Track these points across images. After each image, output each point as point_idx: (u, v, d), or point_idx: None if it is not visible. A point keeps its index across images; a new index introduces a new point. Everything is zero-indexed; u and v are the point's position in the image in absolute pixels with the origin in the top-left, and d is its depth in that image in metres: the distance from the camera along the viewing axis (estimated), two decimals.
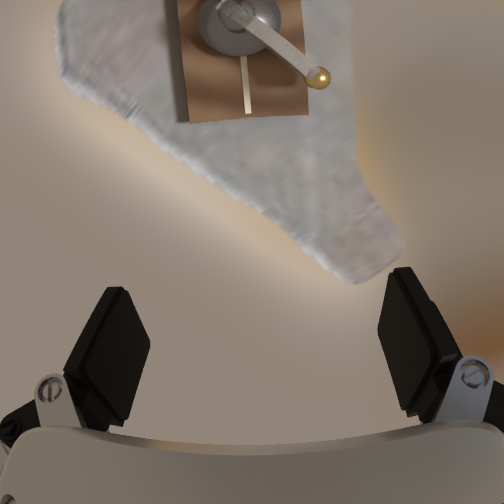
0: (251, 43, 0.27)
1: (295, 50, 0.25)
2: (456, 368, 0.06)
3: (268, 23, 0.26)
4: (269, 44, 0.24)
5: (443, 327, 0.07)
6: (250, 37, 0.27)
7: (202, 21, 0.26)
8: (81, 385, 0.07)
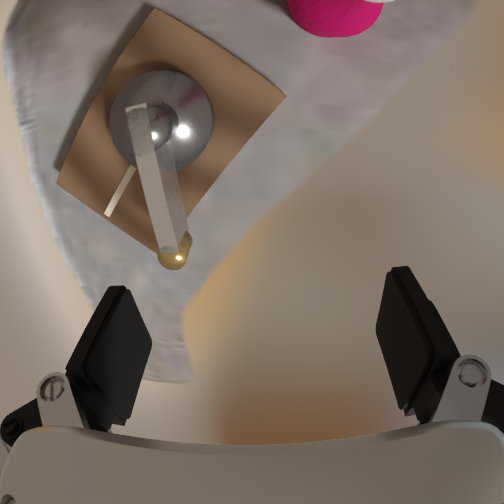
0: None
1: (167, 218, 0.23)
2: (453, 367, 0.06)
3: (182, 150, 0.24)
4: (145, 194, 0.22)
5: (440, 326, 0.07)
6: None
7: (123, 95, 0.21)
8: (83, 384, 0.07)
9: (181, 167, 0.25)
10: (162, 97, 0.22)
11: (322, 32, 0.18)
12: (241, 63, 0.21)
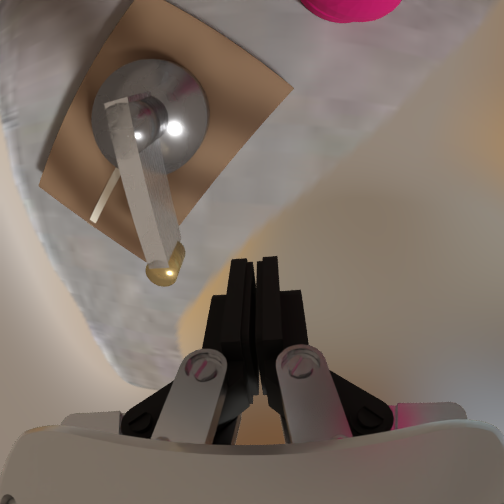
0: None
1: (155, 230, 0.20)
2: (280, 354, 0.07)
3: (172, 151, 0.21)
4: (129, 202, 0.19)
5: (279, 313, 0.08)
6: None
7: (105, 88, 0.18)
8: (234, 358, 0.08)
9: (172, 170, 0.22)
10: (149, 90, 0.18)
11: (336, 15, 0.14)
12: (241, 50, 0.18)
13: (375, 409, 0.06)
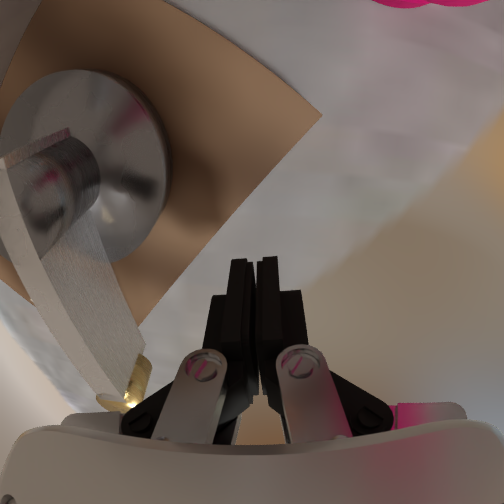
0: None
1: (95, 364, 0.11)
2: (280, 354, 0.07)
3: (113, 229, 0.12)
4: (49, 326, 0.10)
5: (278, 313, 0.08)
6: None
7: (10, 125, 0.09)
8: (234, 358, 0.08)
9: (117, 257, 0.13)
10: (67, 125, 0.10)
11: None
12: (227, 43, 0.10)
13: (375, 409, 0.06)
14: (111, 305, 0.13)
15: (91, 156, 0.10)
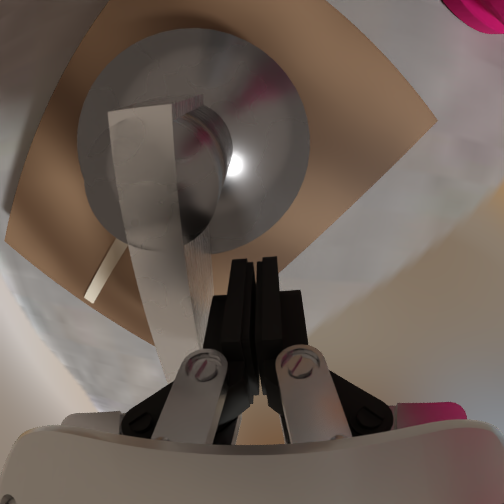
0: None
1: None
2: (280, 354, 0.07)
3: (229, 217, 0.12)
4: (152, 325, 0.10)
5: (278, 313, 0.08)
6: None
7: (111, 75, 0.09)
8: (234, 358, 0.08)
9: (223, 249, 0.13)
10: (202, 92, 0.09)
11: None
12: (366, 40, 0.09)
13: (375, 409, 0.06)
14: (209, 301, 0.13)
15: (229, 133, 0.10)
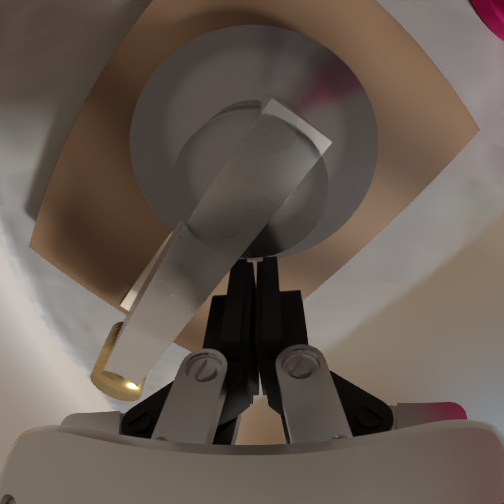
0: None
1: (153, 355, 0.10)
2: (280, 354, 0.07)
3: None
4: (143, 304, 0.09)
5: (278, 313, 0.08)
6: None
7: (241, 37, 0.08)
8: (234, 358, 0.08)
9: None
10: (307, 116, 0.10)
11: None
12: (422, 52, 0.09)
13: (375, 409, 0.06)
14: None
15: None
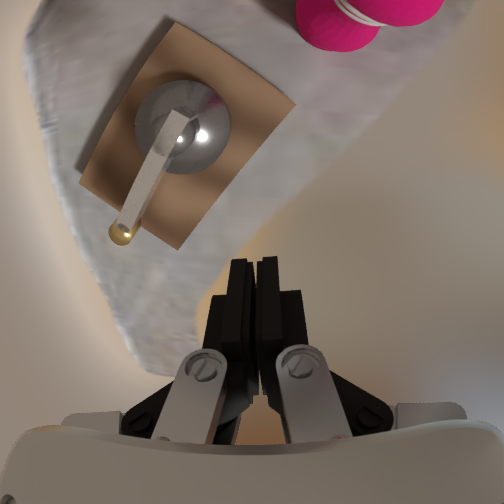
0: None
1: (138, 207, 0.26)
2: (280, 354, 0.07)
3: (181, 161, 0.27)
4: (136, 179, 0.24)
5: (279, 313, 0.08)
6: None
7: (173, 86, 0.24)
8: (234, 358, 0.08)
9: (171, 171, 0.28)
10: (199, 113, 0.25)
11: (328, 48, 0.21)
12: (255, 75, 0.24)
13: (375, 409, 0.06)
14: (154, 188, 0.27)
15: (199, 132, 0.26)
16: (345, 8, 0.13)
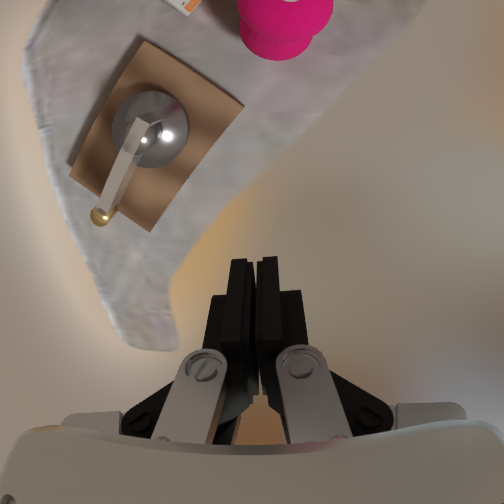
0: None
1: (113, 194, 0.31)
2: (280, 354, 0.07)
3: (148, 157, 0.32)
4: (111, 172, 0.29)
5: (279, 313, 0.08)
6: None
7: (141, 95, 0.28)
8: (234, 358, 0.08)
9: (141, 166, 0.33)
10: (162, 117, 0.30)
11: (266, 58, 0.26)
12: (209, 84, 0.29)
13: (375, 409, 0.06)
14: (127, 180, 0.32)
15: (162, 133, 0.31)
16: None
